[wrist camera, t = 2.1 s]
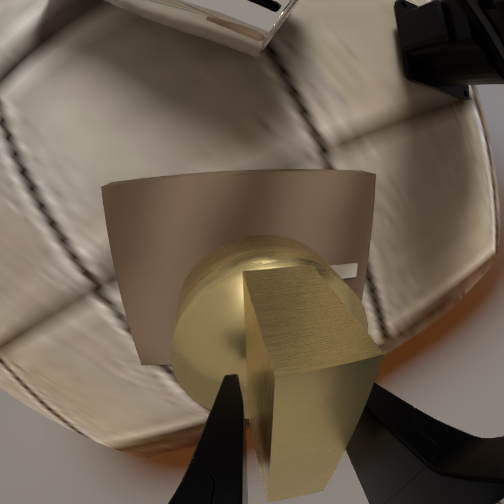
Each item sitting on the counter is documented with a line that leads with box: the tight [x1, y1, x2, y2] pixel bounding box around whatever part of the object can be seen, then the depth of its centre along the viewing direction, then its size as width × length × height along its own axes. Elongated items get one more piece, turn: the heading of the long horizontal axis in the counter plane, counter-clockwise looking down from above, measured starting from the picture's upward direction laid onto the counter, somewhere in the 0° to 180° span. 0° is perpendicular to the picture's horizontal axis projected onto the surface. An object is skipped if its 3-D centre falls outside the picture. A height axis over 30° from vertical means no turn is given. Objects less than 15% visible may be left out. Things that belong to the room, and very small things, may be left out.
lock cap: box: [171, 235, 384, 502], centre depth 9 cm, size 8×7×7 cm
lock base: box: [101, 169, 376, 365], centre depth 14 cm, size 14×11×4 cm
